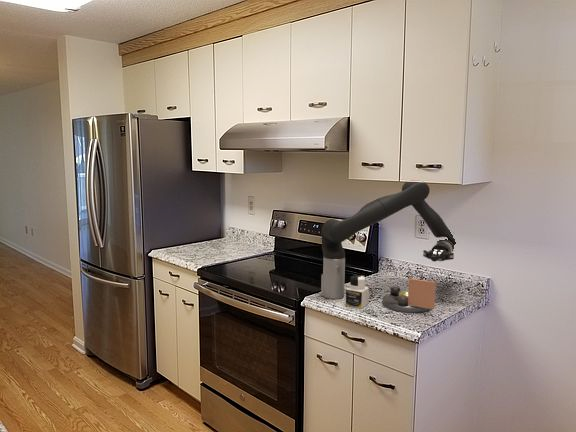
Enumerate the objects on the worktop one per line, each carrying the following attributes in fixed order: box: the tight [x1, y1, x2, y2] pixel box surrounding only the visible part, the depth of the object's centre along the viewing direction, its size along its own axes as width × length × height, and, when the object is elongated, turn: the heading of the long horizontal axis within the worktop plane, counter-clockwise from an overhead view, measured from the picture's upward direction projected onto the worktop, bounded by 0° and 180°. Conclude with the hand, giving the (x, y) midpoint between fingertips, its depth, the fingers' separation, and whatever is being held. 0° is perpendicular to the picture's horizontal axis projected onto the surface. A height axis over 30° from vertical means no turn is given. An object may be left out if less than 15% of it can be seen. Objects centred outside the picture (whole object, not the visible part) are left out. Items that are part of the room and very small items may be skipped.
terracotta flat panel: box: [398, 278, 437, 310], centre depth 180 cm, size 14×4×11 cm, turn 61°
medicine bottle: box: [345, 274, 370, 309], centre depth 189 cm, size 7×7×12 cm
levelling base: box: [381, 286, 433, 314], centre depth 189 cm, size 20×20×5 cm
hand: (434, 259), depth 186 cm, fingers closed
